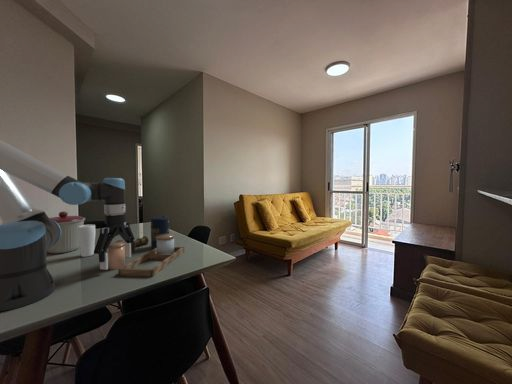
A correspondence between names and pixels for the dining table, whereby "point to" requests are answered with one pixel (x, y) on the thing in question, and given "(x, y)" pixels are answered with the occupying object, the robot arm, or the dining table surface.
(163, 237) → the white lidded jar
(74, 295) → the dining table surface
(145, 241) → the kendama
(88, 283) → the dining table surface
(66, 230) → the canister
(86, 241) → the white tall cup
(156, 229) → the canister
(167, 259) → the caddy
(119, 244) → the tan domed cylinder
